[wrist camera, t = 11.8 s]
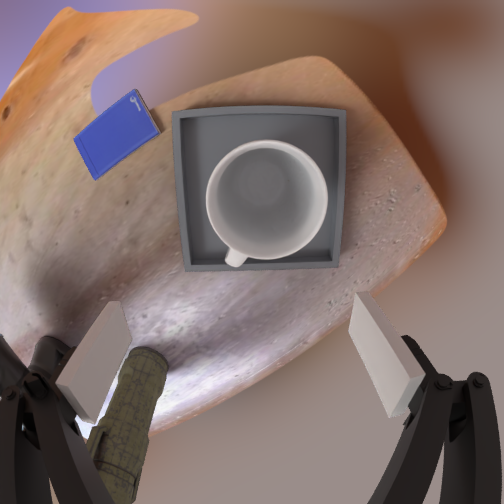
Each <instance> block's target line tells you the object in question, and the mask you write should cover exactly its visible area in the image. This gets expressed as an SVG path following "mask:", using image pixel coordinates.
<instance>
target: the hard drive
mask: <svg viewBox="0 0 504 504" xmlns="http://www.w3.org/2000/svg"><path fill="white" fill-rule="evenodd" d="M160 134H161V132H160V131H159V129H158V127H157V125H156V124H155V122H154V120H153V118H152V116H151V115H150V113H149V109H148V107H147V106H146V104H145V102H144V100H143V98H142V96H141V95H140V93H139V91H138V90H137V89H133V90H132V91H131V92H129V93H128V94H126V95H125V96H124V97H122V98H121V99H120V100H118V101H117V102H116V103H115V104H113V105H112V106H111V107H109V108H108V109H107V110H106V111H104V112H103V113H102V114H101V115H100V116H98V117H97V118H96V119H95V120H94V121H92V122H91V123H90V124H89V125H88V126H87V127H86V128H85V129H83V130H82V131H81V132H80V133H79V134H78V135H77V136H76V137H75V138H74V142H75V144H76V146H77V148H78V150H79V152H80V154H81V156H82V158H83V160H84V162H85V164H86V166H87V168H88V170H89V172H90V173H91V175H92V177H93V179H94V180H95V181H96V180H98V179H99V178H101V177H102V176H103V175H104V174H106V173H107V172H108V171H109V170H111V169H112V168H113V167H115V166H116V165H117V164H119V163H120V162H121V161H123V160H124V159H125V158H127V157H128V156H129V155H131V154H132V153H133V152H135V151H136V150H138V149H139V148H140V147H142V146H143V145H145V144H146V143H148V142H149V141H151V140H152V139H154V138H155V137H157V136H158V135H160Z"/></svg>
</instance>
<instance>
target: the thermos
mask: <svg viewBox="0 0 504 504" xmlns="http://www.w3.org/2000/svg"><path fill="white" fill-rule="evenodd" d="M167 371H168V363H167V360H166V359H165V358H164V357H163V356H162V355H161V354H160V353H158V352H157V351H155V350H153V349H151V348H147V347H136V348H133V349H132V350H131V351H130V353H129V356H128V358H127V359H125V362H124V364H123V366H122V368H121V370H120V373H119V375H118V384H117V387H116V389H115V391H114V394H113V396H112V399H111V401H110V403H109V406H108V408H107V411H106V413H105V416H104V417H102V418H101V419H100V420H99V423H98V425H97V426H94V427H92V430H91V432H90V435H89V438H88V440H87V443H86V447H87V449H88V451H89V454H90V456H91V458H92V460H93V462H94V465H95V467H96V469H97V471H98V473H99V475H100V477H101V479H102V481H103V483H104V484H105V486H106V488H107V490H108V492H109V494H110V495H111V497H112V499H113V501H114V502H115V504H132V503H133V502H134V501H135V500H136V494H137V490H138V485H139V481H140V476H141V472H142V466H143V464H144V460H145V456H146V452H147V447H148V444H149V438H148V432H149V428H150V424H151V421H152V417H153V413H154V410H155V406H156V403H157V399H158V398H159V397H160V396H161V394H162V392H163V389H164V385H165V381H166V374H167Z"/></svg>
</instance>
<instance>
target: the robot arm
mask: <svg viewBox="0 0 504 504" xmlns="http://www.w3.org/2000/svg"><path fill="white" fill-rule="evenodd" d="M348 332H349V334H350V335H351V338H352V340H353V342H354V344H355V346H356V348H357V350H358V352H359V354H360V356H361V358H362V360H363V362H364V364H365V367H366V369H367V371H368V373H369V375H370V377H371V379H372V381H373V383H374V386H375V388H376V390H377V392H378V395H379V397H380V399H381V401H382V403H383V406H384V408H385V410H386V412H387V415H388V417H389V418H391V417H395V416H398V415H401V414H403V413H404V412H405V410H406V409H407V407H409V409H410V411H411V413H410V414H409V416H408V417H407V419H406V420H405V422H404V424H403V425H405V427H404V429H403V432H402V434H401V437H400V439H399V442H398V444H397V447H396V449H395V451H394V453H393V456H392V458H391V460H390V462H389V464H388V466H387V468H386V470H385V472H384V474H383V476H382V479H381V480H380V482H379V484H378V486H377V488H376V490H375V491H374V493H373V495H372V497H371V499H370V500H369V502H368V503H367V504H422V503H423V501H424V499H425V496H426V494H427V491H428V489H429V486H430V484H431V481H432V478H433V475H434V472H435V470H436V467H437V463H438V460H439V457H440V453H441V450H442V446H443V443H444V465H443V477H442V487H441V495H440V502H439V504H501V491H502V469H501V468H502V467H501V449H500V440H499V430H498V423H497V416H496V410H495V405H494V400H493V395H492V390H491V386H490V382H489V380H488V378H487V377H486V376H485V375H484V374H482V373H480V372H473V373H471V374H470V375H469V377H468V378H467V380H465V381H453V380H452V379H451V378H450V377H449V376H447V375H445V374H438V372H437V371H436V369H435V368H434V367H433V365H432V364H431V363H430V361H429V359H428V358H427V356H426V355H425V354H424V352H423V351H422V349H420V347H419V345H418V344H417V343H416V341H415V340H414V339H412V338H411V337H410V336H408V335H404V336H400V335H399V334H398V332H397V331H396V329H395V328H394V326H393V325H392V324H391V322H390V321H389V319H388V318H387V317H386V315H385V314H384V313H383V311H382V310H381V309H380V307H379V306H378V304H377V303H376V302H375V300H374V299H373V298H372V296H371V295H370V294H369V292H368V291H364V292H355V298H354V304H353V310H352V315H351V321H350V326H349V330H348ZM131 341H132V336H131V334H130V331H129V328H128V325H127V322H126V318H125V315H124V312H123V309H122V306H121V302H120V301H109V302H108V303H107V305H106V306H105V307H104V309H103V310H102V312H101V313H100V314H99V316H98V317H97V319H96V320H95V322H94V323H93V324H92V326H91V327H90V329H89V330H88V332H87V333H86V335H85V336H84V338H83V339H82V341H81V342H80V344H79V345H78V347H75V346H74V347H72V348H71V349H70V348H69V347H68V346H66V345H65V344H63V343H62V342H60V341H59V340H57V339H54V338H52V337H42V338H41V339H40V340H39V341H38V343H37V344H36V346H35V351H34V354H33V357H32V360H31V363H30V365H29V367H28V368H27V367H26V366H25V365H24V364H23V362H22V361H21V360H20V359H19V358H18V356H17V355H16V354H15V353H14V351H13V350H12V349H11V347H10V346H9V345H8V343H7V342H6V341H5V339H4V338H3V335H2V334H0V504H53V503H52V497H51V490H50V483H49V478H50V481H51V483H52V486H53V489H54V491H55V494H56V497H57V499H58V502H59V504H115V502H114V501H113V499H112V497H111V495H110V494H109V492H108V490H107V488H106V486H105V484H104V483H103V481H102V479H101V477H100V475H99V473H98V471H97V469H96V467H95V465H94V462H93V460H92V458H91V456H90V454H89V451H88V449H87V447H86V444H85V442H84V440H83V437H82V434H81V432H80V429H79V426H78V424H77V422H76V420H75V417H76V415H78V416H79V417H80V419H81V420H82V421H84V422H87V423H91V424H95V423H96V421H97V418H98V416H99V413H100V411H101V408H102V406H103V404H104V401H105V399H106V396H107V394H108V392H109V389H110V387H111V385H112V382H113V380H114V378H115V375H116V373H117V371H118V369H119V367H120V364H121V362H122V360H123V358H124V356H125V353H126V351H127V349H128V347H129V345H130V343H131Z"/></svg>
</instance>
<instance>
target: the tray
mask: <svg viewBox="0 0 504 504" xmlns="http://www.w3.org/2000/svg"><path fill="white" fill-rule="evenodd" d="M172 134H173V155H174V171H175V184H176V196H177V207H178V218H179V227H180V236H181V245H182V253H183V261H184V268H185V272H201V271H248V270H283V269H311V268H337V267H338V266H339V257H340V247H341V237H342V226H343V213H344V197H345V177H346V110H341V109H331V108H319V107H303V106H228V107H212V108H200V109H190V110H181V111H173V112H172ZM265 139H267V140H278V141H282V142H286V143H289V144H291V145H294V146H296V147H297V148H299V149H301V150H302V151H304V152H305V153H306V154H308V155H309V156H310V157H311V158H312V159H313V160H314V162H315V163H316V164H317V166H318V167H319V169H320V170H321V172H322V174H323V177H324V179H325V182H326V186H327V192H328V205H327V211H326V215H325V218H324V221H323V223H322V225H321V227H320V229H319V231H318V232H317V234H316V235H315V236H314V238H313V239H312V240H311V241H310V242H309V243H308V244H307V245H305V246H304V247H303V248H301V249H300V250H298V251H297V252H295V253H293V254H290V255H288V256H285V257H281V258H277V259H255V258H251V257H248V258H247V259H246V260H245V261H244V263H243V264H242V265H241V266H239V267H233V266H230V265H229V264H227V263H226V262H225V257H226V254H227V251H228V249H229V246H227V245H226V244H225V243H224V242H223V241H222V240H221V239H220V237H219V236H218V235H217V233H216V232H215V230H214V229H213V227H212V225H211V223H210V220H209V217H208V214H207V208H206V191H207V186H208V182H209V179H210V177H211V174H212V172H213V171H214V169H215V167H216V166H217V164H218V163H219V162H220V161H221V160H222V159H223V158H224V157H225V156H226V155H227V154H228V153H229V152H231V151H232V150H233V149H235V148H237V147H239V146H241V145H243V144H245V143H248V142H252V141H255V140H265Z"/></svg>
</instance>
